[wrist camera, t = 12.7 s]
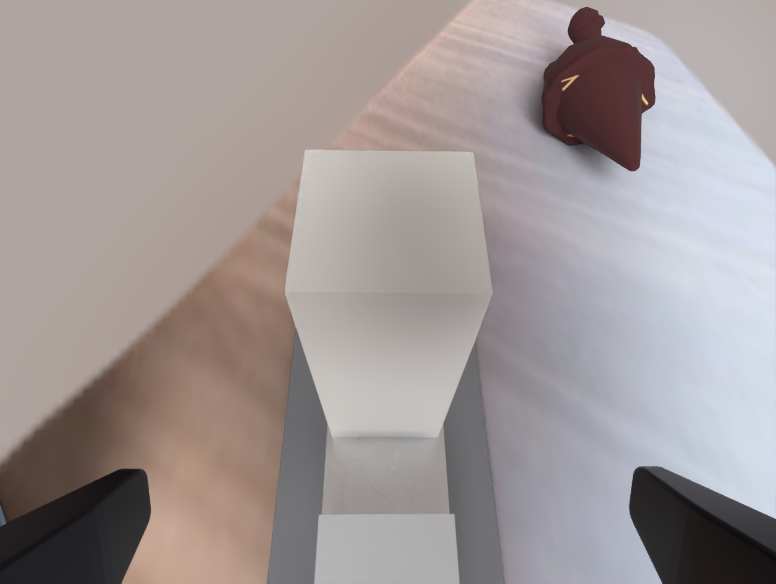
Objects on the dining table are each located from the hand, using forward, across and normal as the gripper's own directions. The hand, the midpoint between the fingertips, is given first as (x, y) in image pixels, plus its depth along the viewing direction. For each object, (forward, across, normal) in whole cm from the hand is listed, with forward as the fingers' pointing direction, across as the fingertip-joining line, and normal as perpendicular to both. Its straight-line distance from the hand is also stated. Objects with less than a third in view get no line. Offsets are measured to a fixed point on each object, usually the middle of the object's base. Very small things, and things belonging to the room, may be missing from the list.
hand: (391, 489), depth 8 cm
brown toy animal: (+27, -14, -9) cm, 32 cm away
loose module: (+12, 0, +3) cm, 12 cm away
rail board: (+13, 0, +5) cm, 14 cm away
